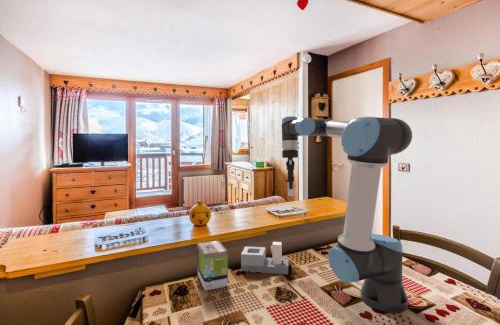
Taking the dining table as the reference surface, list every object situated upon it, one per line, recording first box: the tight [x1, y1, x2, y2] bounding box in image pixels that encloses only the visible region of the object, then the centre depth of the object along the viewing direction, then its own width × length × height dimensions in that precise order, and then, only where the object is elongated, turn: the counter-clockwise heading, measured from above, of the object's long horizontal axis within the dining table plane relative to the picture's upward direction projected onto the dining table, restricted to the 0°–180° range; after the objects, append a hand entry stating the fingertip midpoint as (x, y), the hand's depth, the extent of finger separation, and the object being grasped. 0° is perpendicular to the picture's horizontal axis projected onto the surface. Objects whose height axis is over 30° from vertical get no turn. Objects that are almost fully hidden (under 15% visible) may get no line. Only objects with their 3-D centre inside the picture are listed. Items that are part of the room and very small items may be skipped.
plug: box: [270, 241, 283, 265], centre depth 123 cm, size 4×5×12 cm
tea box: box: [196, 240, 229, 291], centre depth 112 cm, size 15×10×15 cm, turn 22°
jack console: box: [240, 246, 290, 275], centre depth 124 cm, size 10×21×8 cm, turn 80°
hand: (290, 193), depth 127 cm, fingers open, 13 cm apart
